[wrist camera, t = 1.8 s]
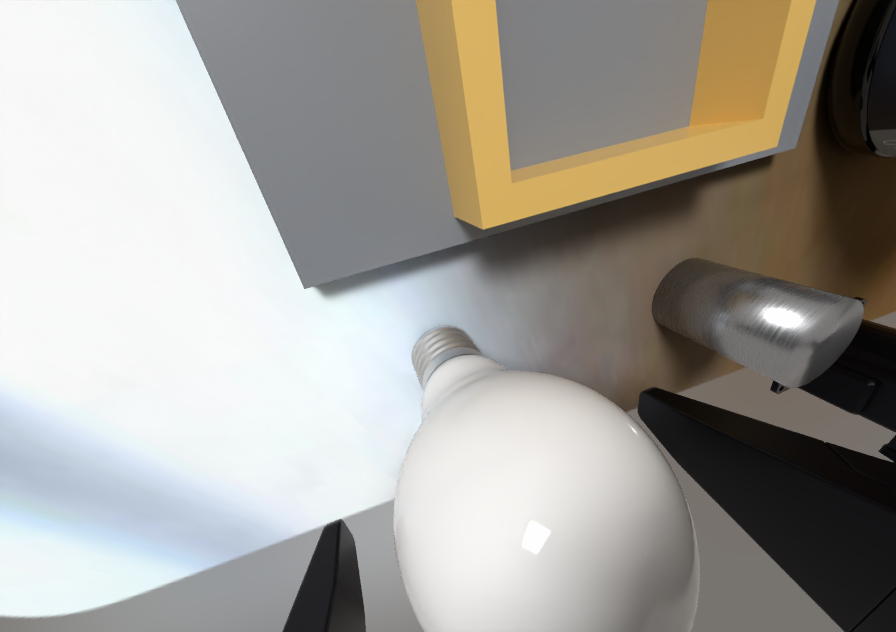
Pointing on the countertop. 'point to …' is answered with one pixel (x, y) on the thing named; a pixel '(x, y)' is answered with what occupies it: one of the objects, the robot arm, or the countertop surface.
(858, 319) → the silver metal cylinder
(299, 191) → the board
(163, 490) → the countertop surface
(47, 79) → the countertop surface
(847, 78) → the supplement container
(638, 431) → the lightbulb
